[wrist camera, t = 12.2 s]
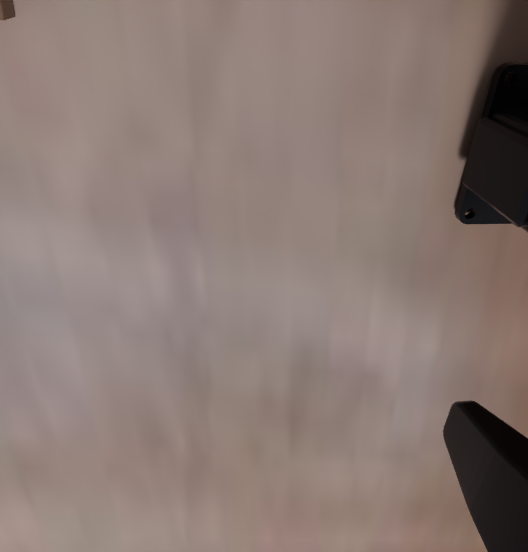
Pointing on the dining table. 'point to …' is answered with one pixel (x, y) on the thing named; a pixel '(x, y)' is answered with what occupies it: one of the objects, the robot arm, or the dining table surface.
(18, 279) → the dining table surface
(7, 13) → the shaft base
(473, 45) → the dining table surface
